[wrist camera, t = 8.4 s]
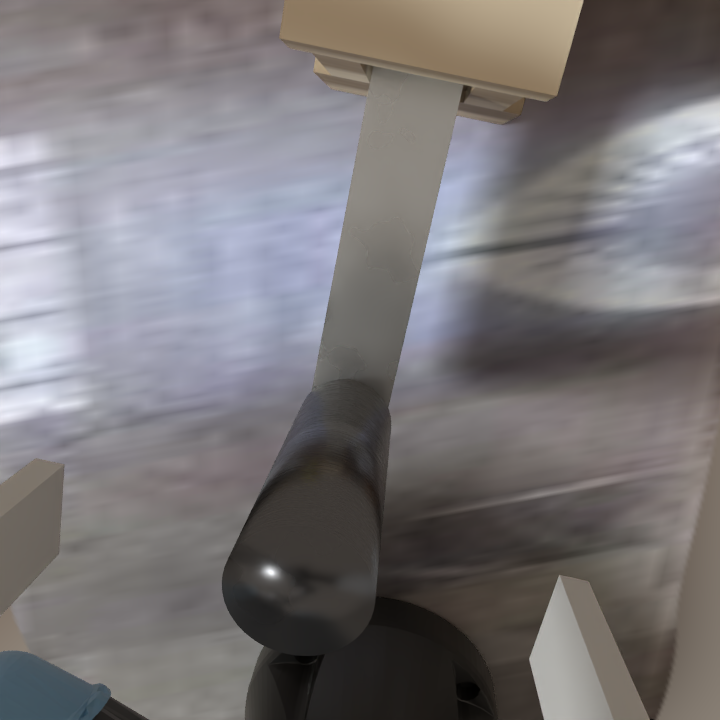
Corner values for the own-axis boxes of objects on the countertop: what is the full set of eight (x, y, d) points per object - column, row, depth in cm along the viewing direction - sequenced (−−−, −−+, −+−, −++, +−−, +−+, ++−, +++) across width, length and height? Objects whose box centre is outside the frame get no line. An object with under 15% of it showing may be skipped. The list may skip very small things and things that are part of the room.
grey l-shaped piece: (384, 441, 27) (358, 670, 15) (305, 424, 27) (213, 637, 15) (542, -233, 20) (764, -927, 7) (432, -254, 20) (464, -979, 7)
